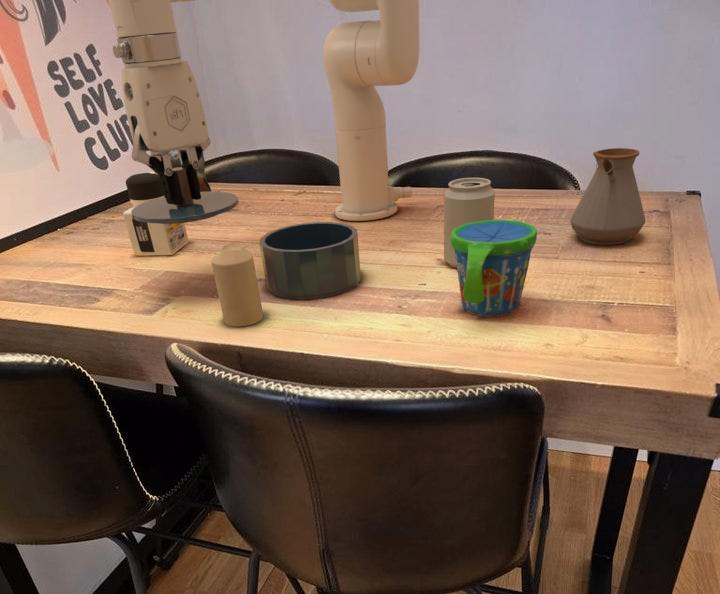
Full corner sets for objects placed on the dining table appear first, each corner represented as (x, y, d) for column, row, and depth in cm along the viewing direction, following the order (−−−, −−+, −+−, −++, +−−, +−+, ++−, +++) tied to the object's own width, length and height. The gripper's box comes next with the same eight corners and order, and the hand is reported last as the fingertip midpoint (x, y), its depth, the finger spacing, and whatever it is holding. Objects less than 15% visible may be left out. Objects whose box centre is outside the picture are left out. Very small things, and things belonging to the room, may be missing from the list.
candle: (226, 313, 93) (211, 242, 87) (264, 309, 93) (251, 238, 87) (222, 329, 88) (206, 255, 82) (262, 324, 88) (249, 250, 82)
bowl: (343, 260, 108) (339, 216, 104) (374, 287, 96) (371, 239, 92) (258, 277, 104) (250, 232, 100) (280, 306, 93) (272, 258, 89)
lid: (228, 194, 104) (221, 153, 100) (248, 215, 92) (241, 170, 88) (130, 210, 100) (118, 168, 97) (137, 234, 88) (124, 187, 85)
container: (172, 255, 117) (153, 178, 110) (133, 256, 119) (112, 180, 111) (189, 242, 123) (172, 168, 116) (152, 243, 125) (133, 170, 117)
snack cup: (478, 283, 94) (481, 210, 88) (549, 293, 89) (556, 216, 83) (428, 323, 84) (426, 244, 78) (504, 337, 79) (509, 253, 73)
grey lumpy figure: (141, 214, 144) (129, 149, 142) (181, 222, 154) (171, 161, 152) (188, 195, 136) (177, 126, 134) (227, 205, 146) (217, 141, 144)
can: (495, 255, 104) (499, 174, 97) (487, 271, 98) (490, 187, 91) (449, 254, 106) (450, 175, 99) (438, 269, 100) (438, 187, 93)
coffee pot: (574, 226, 113) (586, 130, 104) (645, 229, 109) (663, 129, 100) (550, 267, 98) (561, 158, 89) (631, 272, 93) (651, 158, 84)
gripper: (113, 58, 78) (153, 218, 88) (217, 45, 87) (242, 191, 98) (80, 59, 82) (123, 212, 93) (183, 47, 91) (210, 187, 102)
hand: (184, 200), depth 95 cm, fingers closed on lid, 2 cm apart
